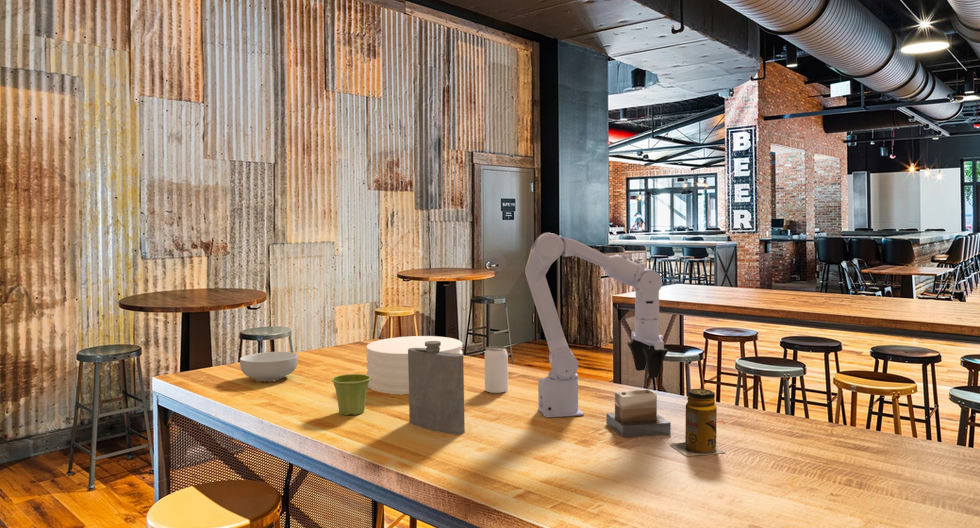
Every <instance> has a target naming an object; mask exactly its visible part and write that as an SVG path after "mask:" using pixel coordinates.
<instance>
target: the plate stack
mask: <svg viewBox="0 0 980 528" xmlns="http://www.w3.org/2000/svg"><path fill="white" fill-rule="evenodd" d="M427 341H440V342H441V346H439V347H440V350H439V352H447V353H456V354H463V350H462V349H463V342H462V340H460V339H457V338H453V337H447V336H446V337H445V336H437V335H414V336H413V335H411V336H410V335H409V336H398V337H397V336H396V337H389V338H388V337H387V338H384V339H379V340H374V341H372V342H370V343H368V344H366V353H367V354H366V361H367V363H366V369H367V372H366V375H368V376H370V377H371V379H370V380H369V384H368V386H367V388H368V389H370V388H371V389H370V390H372V391H374V390H375V392H377V391H379V392H378V393H382V392H383V394H388V393H389V394H390V395H403V394H409V374H408V349H409V348H427V346H425V342H427ZM463 355H464V354H463Z"/></svg>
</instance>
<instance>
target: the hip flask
mask: <svg viewBox="0 0 980 528" xmlns="http://www.w3.org/2000/svg"><path fill="white" fill-rule="evenodd" d="M425 346H427V348H409V349H408V374H409V395H408V405H409V406H408V407H409V408H408V410H409V411H408V412H409V414H408V415H409V417H408V418H409V424H410V425H413V426H415V427H419V428H421V429H426V430H429V431H432V432H433V431H434V432H438V433H442V434H448V435H454V436H457V435H463V434H465V433H466V431H465V422H466V421H465V381H464V378H465V375H464V374H465V373H464V369H465V368H464V367H465V366H464V365H465V364H464V354H456V353H447V352H439V350H440V347H439V346H441V342H440V341H427V342H425Z"/></svg>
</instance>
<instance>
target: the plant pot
mask: <svg viewBox="0 0 980 528" xmlns="http://www.w3.org/2000/svg"><path fill="white" fill-rule="evenodd" d="M370 379H371V377H370V376H368V375H367V374H364V373H363V374H362V373H351V374H350V373H349V374H348V373H347V374H341V375H340V374H339V375H336V376H334V377H332V378H331V382H332V383H333V386H334V389H335V394H336V400H337V407H338V411H339V412H338V413H339V414H340V415H342V416H349V415H353V416H357V415H360V414H363V413H364V412H365V410H366V408H365V407H366V402H367V401H366V400H367V393H368V384H369V380H370Z"/></svg>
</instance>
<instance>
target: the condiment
mask: <svg viewBox="0 0 980 528" xmlns="http://www.w3.org/2000/svg"><path fill="white" fill-rule="evenodd" d="M715 396H716V394H715V392H714V391H713V390H710V389H708V388H707V389H706V388H690V389H689V390H688V391H687V399H686V400H687V402H686V403H685V434H684V435H685V441H684V442H672V443H669V445H670V446H671V447H672V448H674V449H675V450H676V451H678V452H679V453H681V454H682V455H684V456H686V457H695V456H704V455H705V456H706V455H709V456H710V455H717V454H725V451H724V450H722V449H720V448H718V447H717V434H718V433H717V418H718V417H717V412H718V411H717V410H718V409H717V404H715V403H716V400H715V398H716V397H715Z"/></svg>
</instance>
